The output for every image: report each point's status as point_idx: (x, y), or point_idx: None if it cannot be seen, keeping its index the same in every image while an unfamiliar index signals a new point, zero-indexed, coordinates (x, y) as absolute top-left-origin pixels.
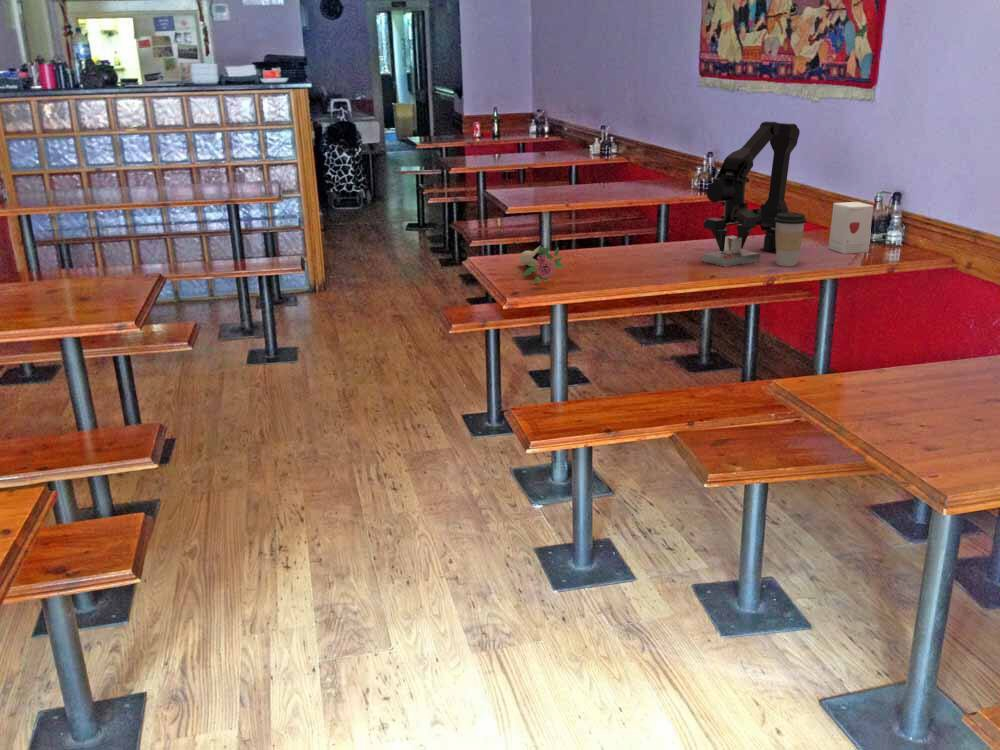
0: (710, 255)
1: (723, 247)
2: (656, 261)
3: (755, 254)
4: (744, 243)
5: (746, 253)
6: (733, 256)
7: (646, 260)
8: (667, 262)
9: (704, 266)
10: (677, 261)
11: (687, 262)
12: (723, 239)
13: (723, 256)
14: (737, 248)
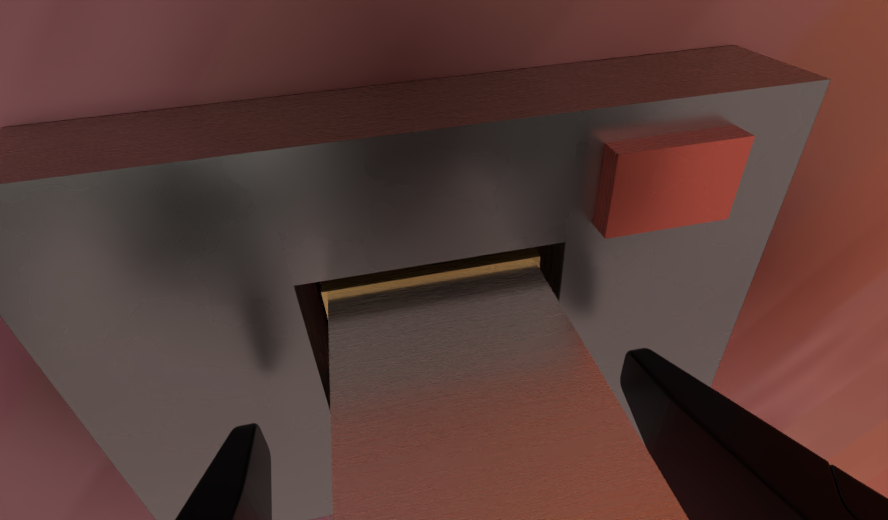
0: (723, 343)
1: (687, 387)
2: (858, 436)
3: (57, 173)
4: (183, 509)
5: (214, 294)
6: (609, 147)
7: (863, 465)
8: (850, 401)
9: (831, 187)
10: (777, 409)
11: (763, 367)
12: (855, 509)
13: (683, 236)
14: (420, 361)
